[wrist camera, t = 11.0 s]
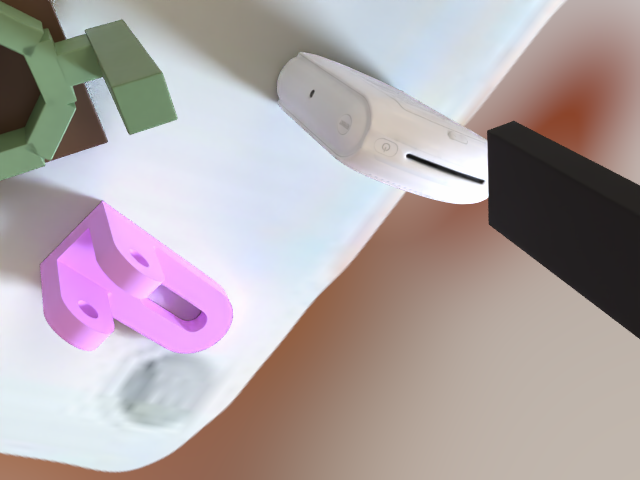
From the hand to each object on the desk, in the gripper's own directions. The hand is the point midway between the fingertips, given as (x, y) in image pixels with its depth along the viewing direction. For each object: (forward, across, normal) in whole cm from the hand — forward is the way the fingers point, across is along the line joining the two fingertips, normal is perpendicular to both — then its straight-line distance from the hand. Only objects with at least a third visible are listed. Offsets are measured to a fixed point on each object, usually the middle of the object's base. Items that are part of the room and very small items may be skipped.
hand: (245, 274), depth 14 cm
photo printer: (+25, -13, +8) cm, 29 cm away
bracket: (+25, +3, +16) cm, 30 cm away
